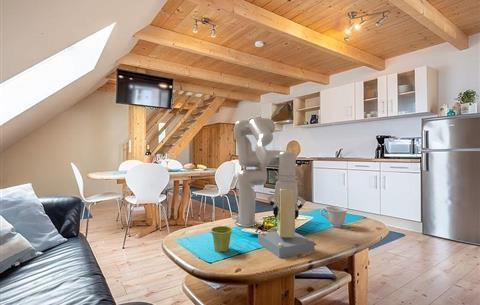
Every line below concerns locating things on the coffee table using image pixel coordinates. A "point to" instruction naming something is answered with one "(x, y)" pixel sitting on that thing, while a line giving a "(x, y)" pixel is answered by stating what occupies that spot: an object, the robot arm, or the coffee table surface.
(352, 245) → the coffee table surface
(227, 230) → the plant pot
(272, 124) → the robot arm
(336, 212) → the teacup
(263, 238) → the base block
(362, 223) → the coffee table surface
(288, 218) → the cream tall block
